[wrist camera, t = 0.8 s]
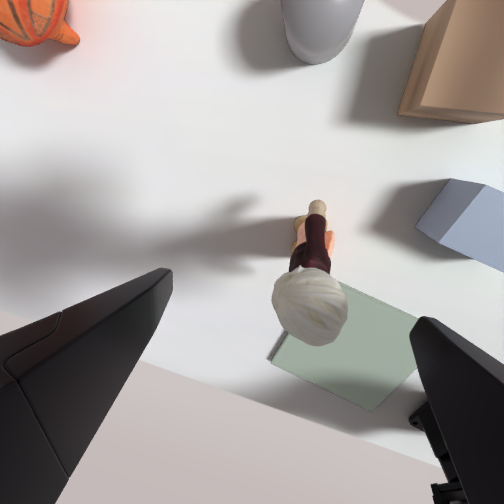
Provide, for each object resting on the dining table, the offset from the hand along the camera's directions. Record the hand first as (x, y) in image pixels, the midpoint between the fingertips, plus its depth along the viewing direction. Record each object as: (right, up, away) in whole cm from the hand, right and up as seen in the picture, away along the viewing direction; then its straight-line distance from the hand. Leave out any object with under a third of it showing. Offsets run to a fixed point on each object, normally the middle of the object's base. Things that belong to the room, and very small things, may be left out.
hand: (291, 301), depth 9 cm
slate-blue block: (+15, +4, +10) cm, 18 cm away
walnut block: (+11, +13, +7) cm, 19 cm away
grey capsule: (+3, +17, +7) cm, 19 cm away
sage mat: (+8, -8, +16) cm, 20 cm away
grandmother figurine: (+4, +4, +13) cm, 14 cm away
